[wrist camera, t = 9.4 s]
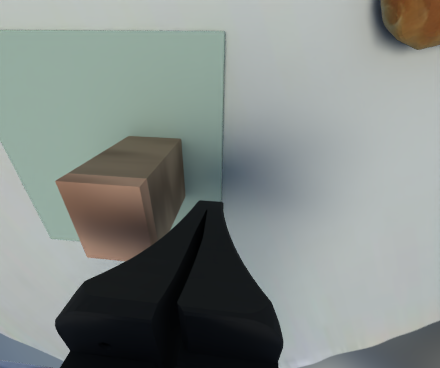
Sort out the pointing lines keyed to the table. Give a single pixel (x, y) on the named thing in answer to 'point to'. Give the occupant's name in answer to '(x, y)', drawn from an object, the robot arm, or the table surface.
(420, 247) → the table surface
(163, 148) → the walnut block
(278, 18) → the table surface
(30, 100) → the sage mat
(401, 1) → the pastry
